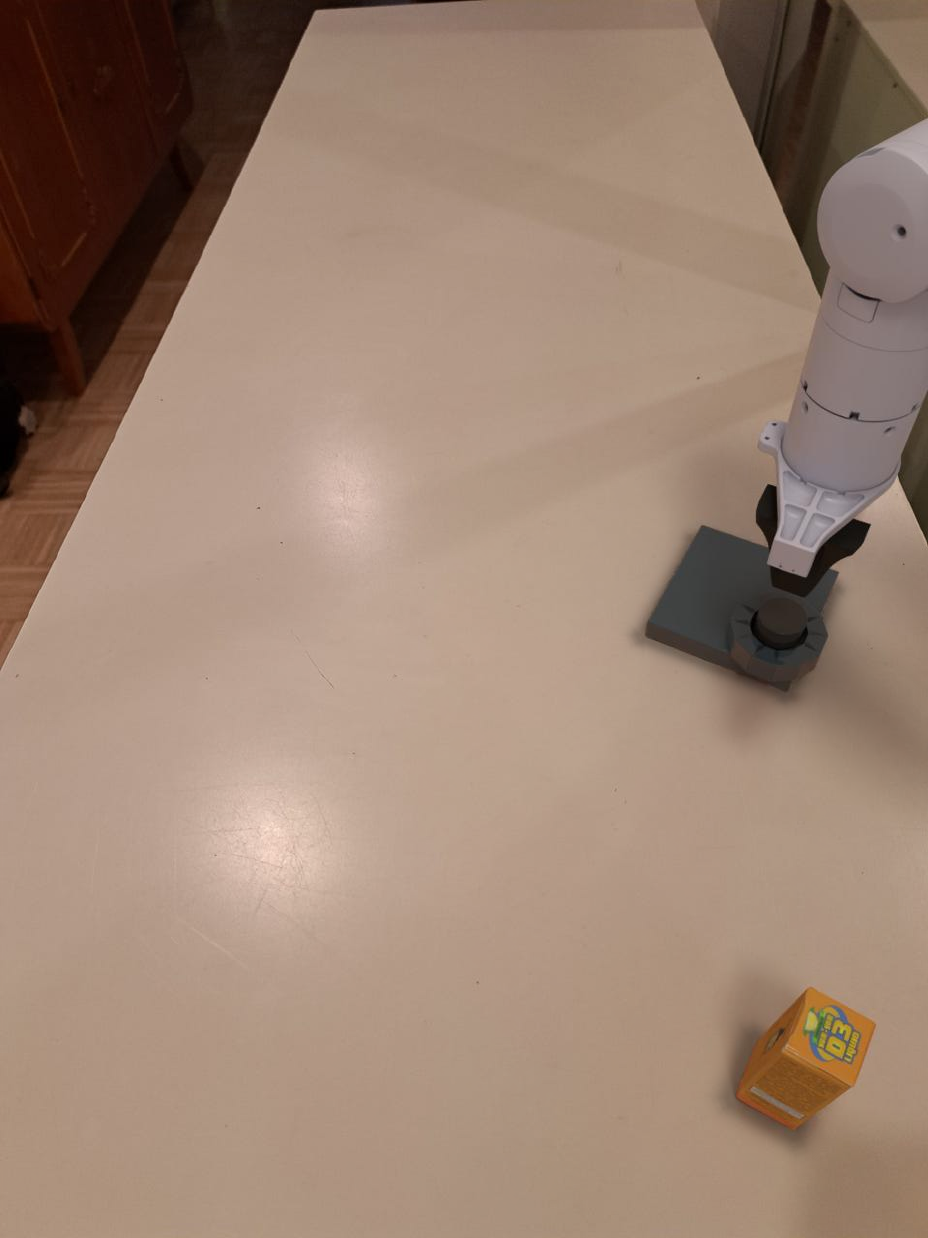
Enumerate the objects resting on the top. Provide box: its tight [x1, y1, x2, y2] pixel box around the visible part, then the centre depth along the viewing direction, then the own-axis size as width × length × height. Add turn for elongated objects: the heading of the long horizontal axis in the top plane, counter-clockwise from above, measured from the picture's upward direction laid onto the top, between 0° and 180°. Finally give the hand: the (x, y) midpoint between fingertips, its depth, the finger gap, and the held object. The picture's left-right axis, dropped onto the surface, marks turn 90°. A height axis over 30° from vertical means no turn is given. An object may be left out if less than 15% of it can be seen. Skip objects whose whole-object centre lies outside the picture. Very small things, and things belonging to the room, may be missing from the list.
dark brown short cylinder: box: [754, 597, 808, 650], centre depth 61 cm, size 3×3×2 cm
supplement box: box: [735, 986, 877, 1131], centre depth 44 cm, size 3×3×10 cm
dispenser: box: [645, 524, 840, 693], centre depth 65 cm, size 11×11×4 cm
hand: (799, 567), depth 56 cm, fingers open, 3 cm apart
